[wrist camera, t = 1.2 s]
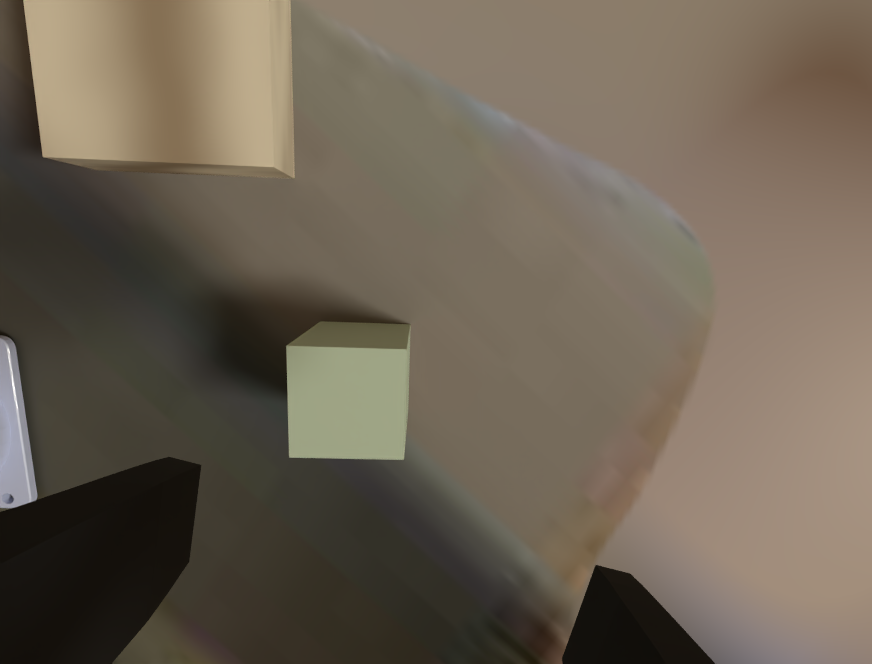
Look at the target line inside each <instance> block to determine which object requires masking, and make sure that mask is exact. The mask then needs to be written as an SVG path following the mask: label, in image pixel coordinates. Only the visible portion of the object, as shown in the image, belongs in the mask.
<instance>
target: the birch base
mask: <svg viewBox="0 0 872 664" xmlns="http://www.w3.org/2000/svg"><path fill="white" fill-rule="evenodd" d="M23 2H24V10H25V18H26V26H27V34H28V42H29V50H30V58H31V66H32V74H33V82H34V90H35V98H36V106H37V114H38V122H39V130H40V138H41V146H42V154H43V157H44V158H49V159H53V160H57V161H61V162H65V163H69V164H73V165H77V166H82V167H86V168H90V169H94V170H101V171H124V172H148V173H172V174H196V175H219V176H243V177H267V178H291V179H295V173H294V131H293V89H292V47H291V5H290V0H23Z"/></svg>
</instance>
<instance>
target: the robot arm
mask: <svg viewBox="0 0 872 664" xmlns="http://www.w3.org/2000/svg"><path fill="white" fill-rule="evenodd" d="M200 471H201V465H199V464H195V463H191V462H187V461H183V460H179V459H175V458H171V457H167V458H163V459H159V460H155V461H152V462H149V463H145V464H142V465H139V466H136V467H133V468H130V469H127V470H124V471H121V472H118V473H115V474H112V475H109V476H106V477H103V478H100V479H97V480H95V481H92V482H89V483H86V484H83V485H80V486H77V487H74V488H71V489H68V490H65V491H62V492H59V493H56V494H53V495H50V496H47V497H44V498H41V499H39V500H36V499H37V490H36V483H35V476H34V469H33V463H32V456H31V449H30V442H29V435H28V428H27V422H26V415H25V408H24V401H23V394H22V387H21V380H20V374H19V367H18V360H17V353H16V347H15V344H14V342H13V341H12V340H11V339H10V338H8V337H7V336H2V335H0V508H12V509H9V510H5V511H2V512H0V664H111V663H112V662H113V661H114V660H115V659H116V658H117V656H118V655H119V654H120V653H121V652H122V651H123V649H124V648H125V647H126V646H127V645H128V644H129V642H130V641H131V640H132V639H133V638H134V637H135V635H136V634H137V633H138V632H139V631H140V629H141V628H142V627H143V626H144V625H145V624H146V622H147V621H148V620H149V619H150V617H151V616H152V614H153V613H154V612H155V610H156V609H157V607H158V606H159V605H160V603H161V602H162V600H163V599H164V598H165V596H166V595H167V593H168V592H169V591H170V589H171V588H172V586H173V585H174V583H175V582H176V580H177V579H178V577H179V576H180V574H181V573H182V571H183V570H184V568H185V567H186V565H187V564H188V563H189V558H190V550H191V542H192V534H193V526H194V518H195V510H196V502H197V494H198V487H199V479H200ZM10 494H11V495H12V496H13V498H12V497H11V495H10ZM562 662H563V664H715V663H714V662H713V661H712V660H711V659H710V657H708V656H707V654H706V653H705V652H704V651H703V650H702V649H701V648H700V647H699V646H698V644H697V643H696V642H695V641H694V640H693V639H692V638H691V637H690V636H689V635H688V634H687V633H686V631H685V630H684V629H683V628H682V627H681V626H680V625H679V624H678V623H677V622H676V621H675V620H674V618H673V617H672V616H671V615H670V614H669V613H668V612H667V611H666V610H665V609H664V608H663V607H662V606H661V605H660V603H659V602H658V601H657V600H656V599H655V598H654V597H653V596H652V595H651V594H650V593H649V592H648V591H647V590H646V589H645V588H644V587H643V586H642V585H641V584H640V583H639V582H638V581H637V580H636V579H635V578H634V577H633V576H632V575H631V574H629V573H625V572H622V571H618V570H614V569H609V568H606V567H602V566H598V565H596V566H595V568H594V571H593V574H592V577H591V579H590V582H589V585H588V588H587V591H586V593H585V596H584V599H583V602H582V605H581V607H580V610H579V613H578V616H577V618H576V621H575V624H574V627H573V630H572V632H571V635H570V638H569V641H568V644H567V646H566V649H565V652H564V655H563V657H562Z"/></svg>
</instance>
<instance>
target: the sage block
mask: <svg viewBox="0 0 872 664" xmlns="http://www.w3.org/2000/svg"><path fill="white" fill-rule="evenodd" d="M286 353H287V390H288V428H289V457H295V458H344V459H394V460H404V451H405V440H406V428H407V417H408V397H409V360H410V324H386V323H354V322H323V321H320V322H319V323H317V324H316V325H315V326H313V327H312V328H310V329H309V330H308V331H306V332H305V333H303V334H302V335H301V336H299V337H298V338H297V339H295V340H294V341H292V342H291V343H290V344H288V345H287V346H286Z"/></svg>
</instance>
